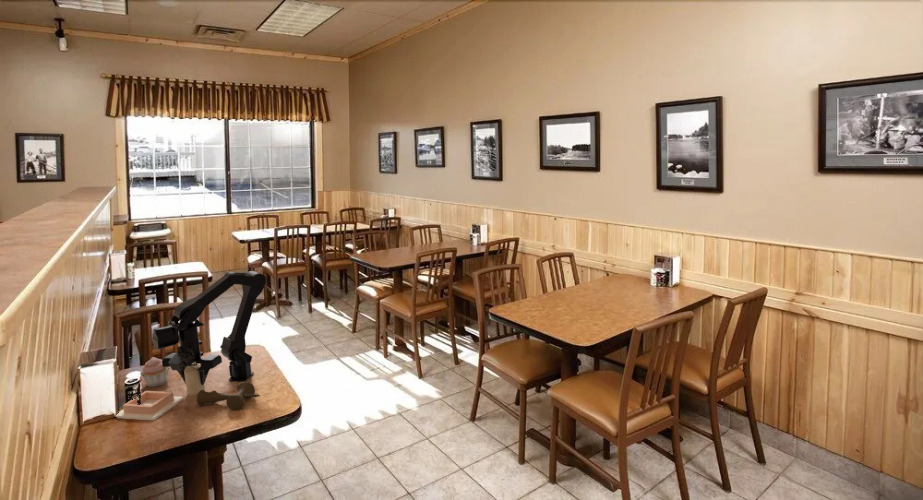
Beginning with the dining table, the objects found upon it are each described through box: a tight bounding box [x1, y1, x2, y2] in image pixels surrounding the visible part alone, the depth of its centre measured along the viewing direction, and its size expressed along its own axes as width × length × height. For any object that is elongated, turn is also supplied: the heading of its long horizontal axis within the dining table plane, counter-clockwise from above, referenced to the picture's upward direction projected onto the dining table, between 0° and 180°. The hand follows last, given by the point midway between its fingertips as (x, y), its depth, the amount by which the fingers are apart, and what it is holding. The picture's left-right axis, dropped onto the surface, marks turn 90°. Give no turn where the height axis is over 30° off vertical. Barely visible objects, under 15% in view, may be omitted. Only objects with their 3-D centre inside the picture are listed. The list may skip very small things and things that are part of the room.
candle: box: [184, 363, 206, 397], centre depth 180 cm, size 6×6×10 cm
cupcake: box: [139, 356, 171, 388], centre depth 188 cm, size 9×9×10 cm
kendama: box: [196, 381, 261, 411], centre depth 172 cm, size 6×10×20 cm
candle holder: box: [116, 390, 185, 421], centre depth 171 cm, size 14×14×3 cm
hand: (195, 384), depth 181 cm, fingers closed on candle, 5 cm apart
